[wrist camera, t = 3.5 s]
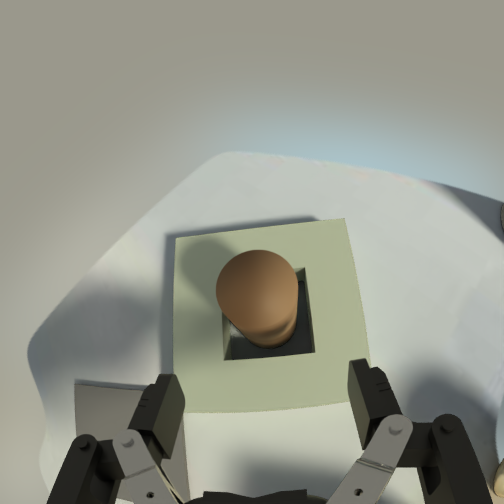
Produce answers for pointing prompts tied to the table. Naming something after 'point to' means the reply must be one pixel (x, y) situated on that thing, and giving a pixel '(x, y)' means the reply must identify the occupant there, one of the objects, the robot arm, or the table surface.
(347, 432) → the table surface
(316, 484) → the table surface
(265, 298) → the walnut pin
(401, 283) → the table surface
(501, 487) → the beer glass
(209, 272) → the collar block
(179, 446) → the rubber mat
